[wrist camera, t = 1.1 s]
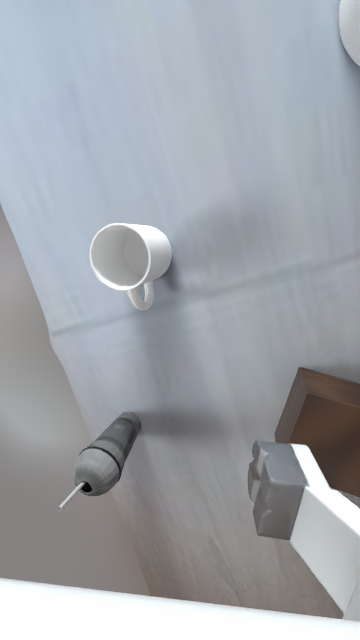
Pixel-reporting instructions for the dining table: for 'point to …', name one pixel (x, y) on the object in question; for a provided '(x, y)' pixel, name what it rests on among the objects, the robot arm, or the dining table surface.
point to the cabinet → (325, 426)
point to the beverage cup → (105, 457)
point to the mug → (130, 259)
